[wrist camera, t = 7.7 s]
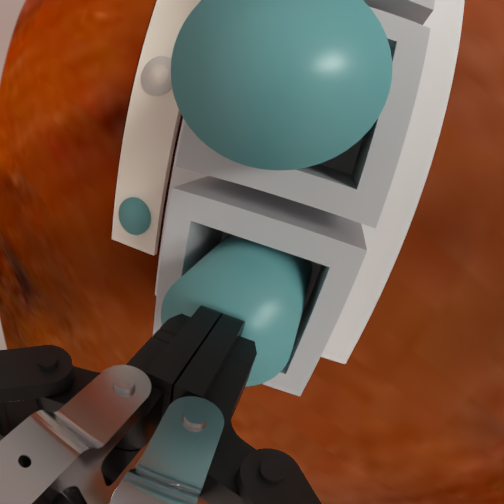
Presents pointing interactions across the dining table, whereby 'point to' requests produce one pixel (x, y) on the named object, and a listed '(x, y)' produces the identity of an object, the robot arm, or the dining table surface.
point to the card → (149, 133)
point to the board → (326, 194)
